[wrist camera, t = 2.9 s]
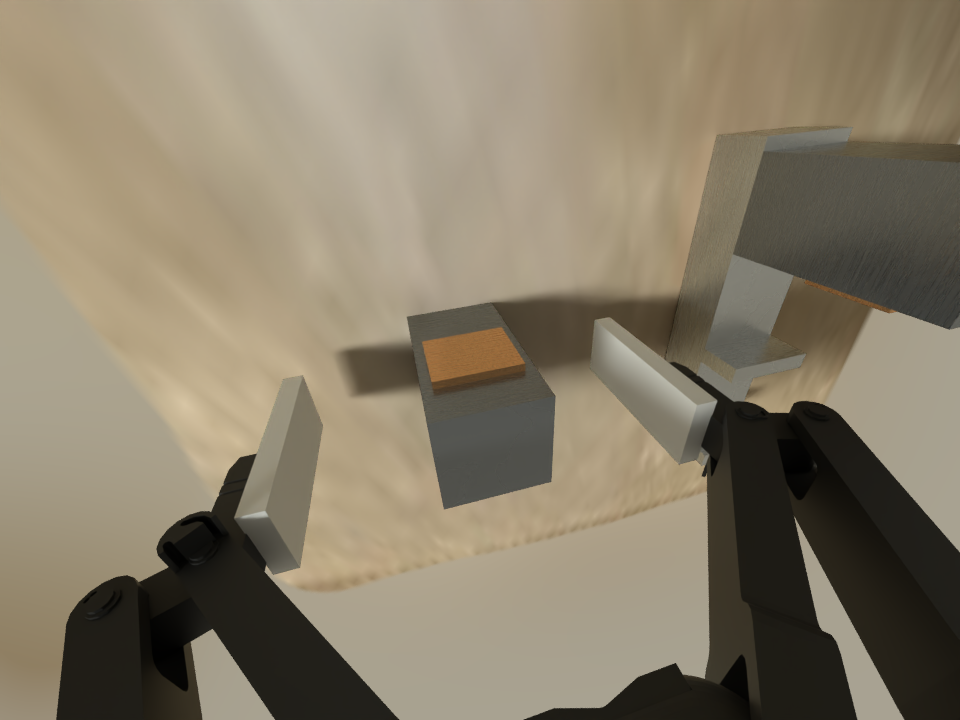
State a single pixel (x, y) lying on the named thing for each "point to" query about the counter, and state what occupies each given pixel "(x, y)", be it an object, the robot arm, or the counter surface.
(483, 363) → the grey rectangular block
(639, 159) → the counter surface
